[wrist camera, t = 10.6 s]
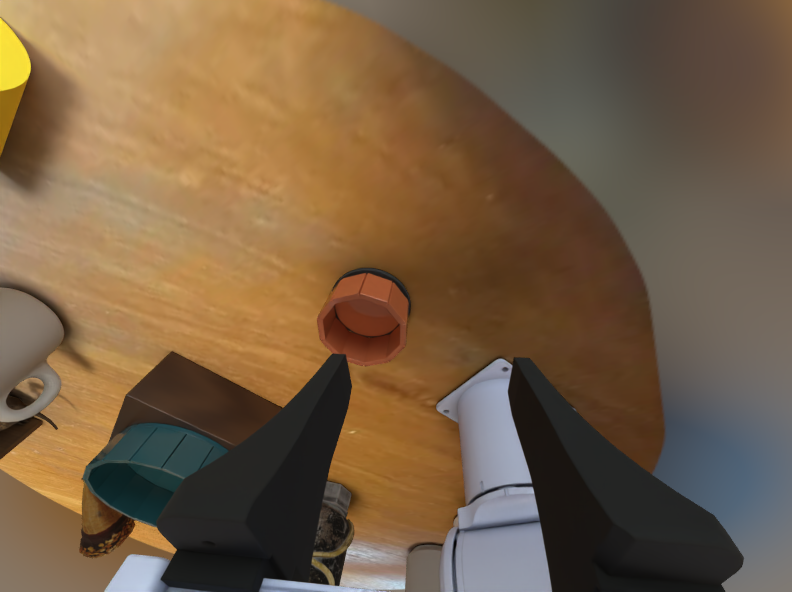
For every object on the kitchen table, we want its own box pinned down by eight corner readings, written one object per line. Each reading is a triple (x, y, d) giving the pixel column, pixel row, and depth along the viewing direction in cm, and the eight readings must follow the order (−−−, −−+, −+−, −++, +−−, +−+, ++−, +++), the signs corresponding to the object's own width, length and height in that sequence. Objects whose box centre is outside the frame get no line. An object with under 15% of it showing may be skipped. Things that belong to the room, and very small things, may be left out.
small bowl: (426, 300, 22) (425, 327, 19) (378, 349, 25) (372, 378, 22) (359, 253, 21) (348, 276, 18) (316, 310, 24) (301, 337, 21)
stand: (297, 415, 31) (276, 464, 27) (249, 466, 37) (226, 512, 33) (171, 351, 28) (125, 394, 24) (141, 418, 34) (100, 462, 30)
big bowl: (267, 464, 27) (249, 504, 24) (223, 508, 33) (204, 545, 30) (131, 402, 24) (94, 439, 21) (108, 462, 30) (75, 498, 27)
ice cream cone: (48, 476, 40) (80, 544, 46) (55, 509, 37) (88, 578, 42) (111, 447, 44) (133, 513, 50) (122, 474, 41) (144, 541, 47)
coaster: (427, 299, 23) (427, 302, 22) (380, 346, 25) (379, 350, 25) (359, 251, 21) (358, 253, 21) (317, 307, 24) (315, 310, 24)
